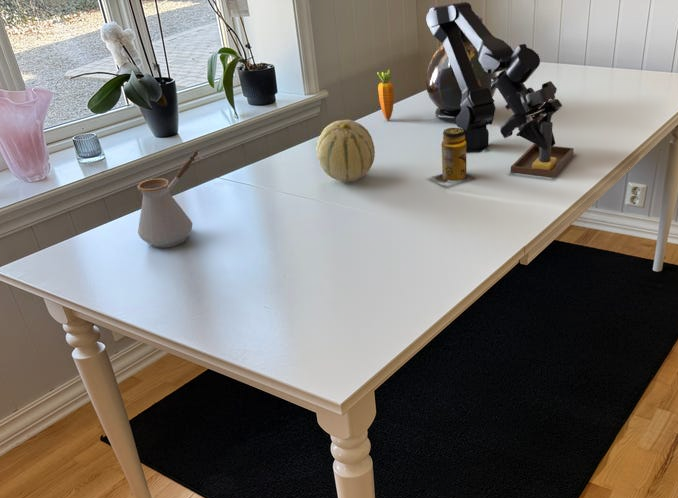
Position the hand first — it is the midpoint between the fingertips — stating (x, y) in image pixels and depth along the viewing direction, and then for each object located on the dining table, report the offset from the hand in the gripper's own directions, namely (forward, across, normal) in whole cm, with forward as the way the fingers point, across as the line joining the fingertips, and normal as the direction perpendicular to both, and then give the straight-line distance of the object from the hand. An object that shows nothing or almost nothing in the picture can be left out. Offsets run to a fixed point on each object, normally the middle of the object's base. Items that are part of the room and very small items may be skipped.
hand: (550, 146), depth 169 cm
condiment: (-7, -17, +17) cm, 25 cm away
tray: (+2, +4, +8) cm, 9 cm away
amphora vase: (-30, +24, +40) cm, 55 cm away
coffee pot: (-27, -77, +37) cm, 89 cm away
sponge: (+3, 0, +5) cm, 6 cm away
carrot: (-41, +8, +51) cm, 66 cm away
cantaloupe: (-22, -33, +32) cm, 51 cm away
